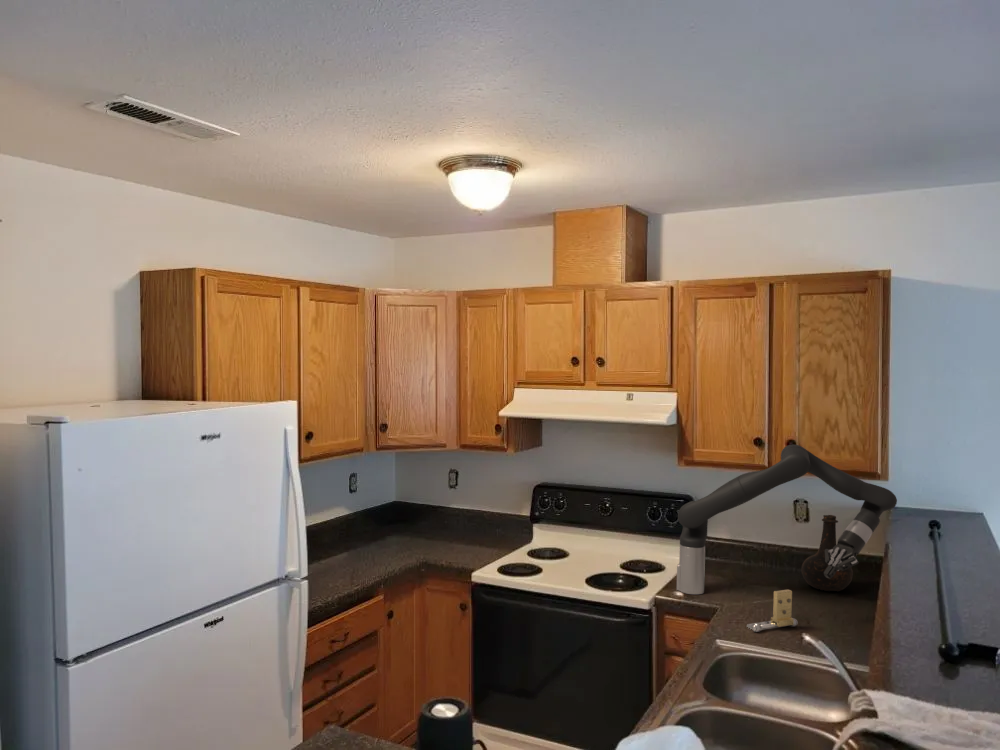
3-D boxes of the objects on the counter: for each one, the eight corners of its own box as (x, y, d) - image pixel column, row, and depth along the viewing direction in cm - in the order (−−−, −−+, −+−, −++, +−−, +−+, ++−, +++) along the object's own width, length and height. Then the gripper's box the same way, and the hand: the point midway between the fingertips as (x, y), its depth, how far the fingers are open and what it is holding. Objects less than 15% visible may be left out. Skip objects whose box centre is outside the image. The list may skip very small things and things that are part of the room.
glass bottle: (793, 587, 285) (795, 514, 285) (813, 578, 298) (814, 508, 297) (841, 599, 272) (843, 522, 272) (859, 589, 285) (861, 516, 284)
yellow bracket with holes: (778, 626, 238) (779, 593, 238) (770, 622, 242) (771, 590, 241) (793, 624, 240) (794, 591, 240) (785, 620, 244) (786, 588, 244)
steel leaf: (756, 633, 235) (756, 625, 235) (744, 627, 241) (744, 619, 241) (798, 627, 242) (798, 619, 242) (785, 621, 247) (786, 613, 247)
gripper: (877, 549, 247) (848, 589, 242) (845, 540, 259) (817, 578, 255) (865, 534, 245) (836, 574, 240) (833, 525, 257) (805, 564, 252)
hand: (826, 576), depth 247 cm, fingers closed
